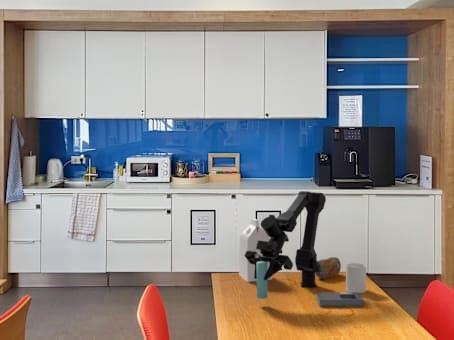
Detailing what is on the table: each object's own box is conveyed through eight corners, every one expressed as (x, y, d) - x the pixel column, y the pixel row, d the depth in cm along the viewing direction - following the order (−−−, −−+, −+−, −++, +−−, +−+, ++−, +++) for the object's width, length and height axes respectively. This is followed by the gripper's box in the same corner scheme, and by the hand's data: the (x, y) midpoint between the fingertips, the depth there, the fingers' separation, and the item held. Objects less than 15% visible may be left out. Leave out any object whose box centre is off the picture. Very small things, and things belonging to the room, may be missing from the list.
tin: (319, 280, 253) (319, 261, 252) (314, 279, 255) (313, 260, 254) (341, 274, 263) (341, 256, 262) (335, 273, 265) (335, 255, 264)
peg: (256, 295, 220) (256, 261, 219) (267, 295, 220) (267, 261, 219) (256, 298, 216) (256, 263, 215) (267, 298, 216) (267, 263, 215)
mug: (368, 293, 232) (368, 267, 231) (348, 293, 231) (348, 267, 231) (360, 285, 244) (360, 260, 243) (341, 285, 244) (341, 260, 243)
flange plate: (316, 298, 225) (316, 292, 225) (358, 298, 225) (358, 291, 224) (319, 306, 215) (319, 299, 215) (363, 306, 215) (363, 299, 214)
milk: (272, 279, 256) (271, 220, 254) (247, 281, 253) (246, 222, 251) (263, 273, 267) (262, 216, 266) (238, 275, 264) (238, 218, 262)
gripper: (246, 229, 225) (230, 263, 217) (288, 234, 214) (272, 270, 206) (258, 246, 232) (242, 280, 224) (299, 251, 220) (284, 287, 212)
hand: (259, 279), depth 216 cm, fingers closed on peg, 4 cm apart
